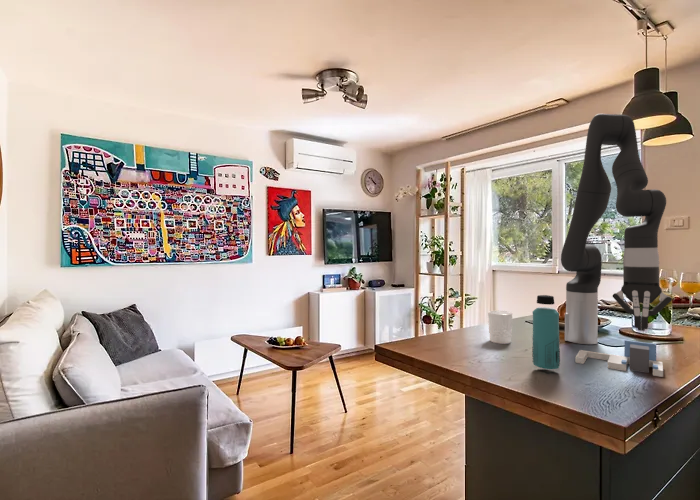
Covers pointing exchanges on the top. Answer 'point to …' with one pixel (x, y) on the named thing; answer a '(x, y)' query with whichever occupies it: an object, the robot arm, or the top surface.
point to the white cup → (500, 326)
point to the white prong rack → (623, 358)
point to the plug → (639, 358)
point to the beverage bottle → (545, 335)
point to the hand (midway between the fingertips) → (641, 330)
